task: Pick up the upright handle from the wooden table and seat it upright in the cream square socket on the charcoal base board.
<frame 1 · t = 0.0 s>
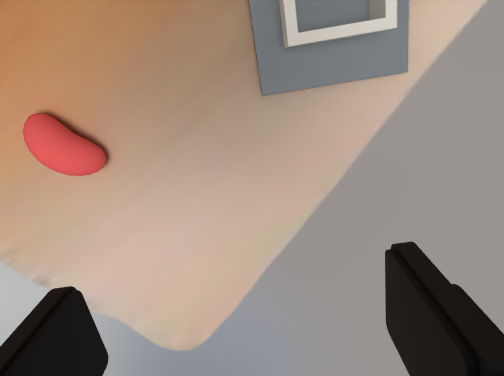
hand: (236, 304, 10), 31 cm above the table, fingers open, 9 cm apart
red bean shape: (73, 142, 40), on the table
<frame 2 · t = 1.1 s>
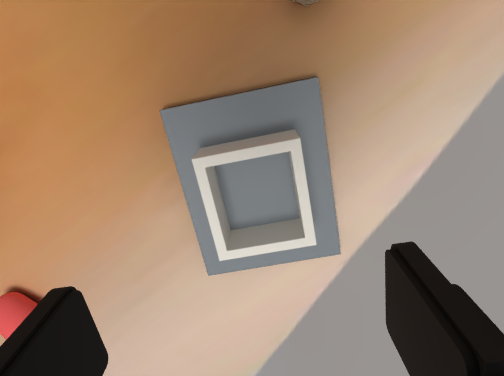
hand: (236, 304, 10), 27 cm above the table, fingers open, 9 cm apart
socket: (257, 183, 37), on the table
red bean shape: (42, 307, 44), on the table
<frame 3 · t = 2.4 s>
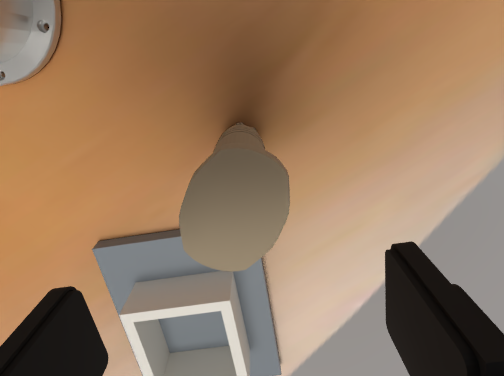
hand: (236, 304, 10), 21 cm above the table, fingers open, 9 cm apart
handle: (241, 139, 29), on the table
socket: (197, 307, 36), on the table
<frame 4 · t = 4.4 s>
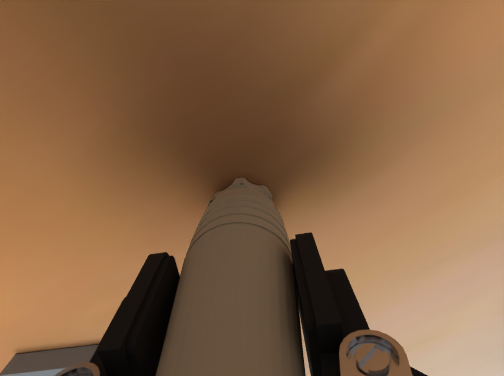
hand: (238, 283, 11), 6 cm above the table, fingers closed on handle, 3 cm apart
handle: (243, 203, 17), on the table, touching gripper
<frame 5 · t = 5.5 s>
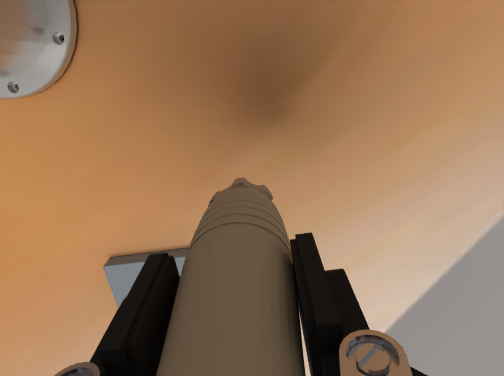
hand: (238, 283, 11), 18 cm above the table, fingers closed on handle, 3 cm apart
handle: (243, 203, 17), point 11 cm above the table, touching gripper
socket: (210, 329, 34), on the table
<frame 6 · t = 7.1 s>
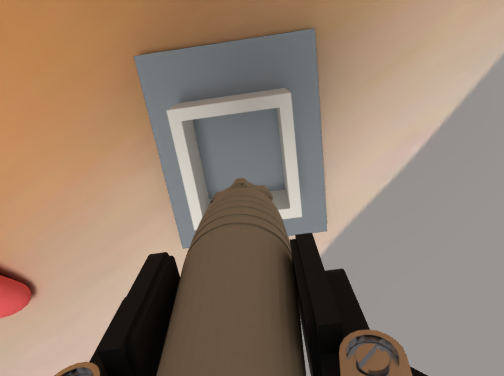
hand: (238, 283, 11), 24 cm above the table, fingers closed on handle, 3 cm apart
handle: (243, 203, 17), point 17 cm above the table, touching gripper
socket: (240, 148, 33), on the table
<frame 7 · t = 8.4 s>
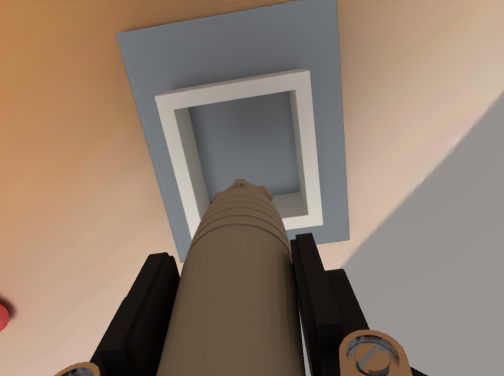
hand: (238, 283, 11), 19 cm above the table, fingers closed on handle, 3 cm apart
handle: (243, 204, 17), point 12 cm above the table, touching gripper
socket: (246, 144, 28), on the table
when the fingers open (9 cm above the table, at t = 10.3 s): handle drops 1 cm, resting on socket.
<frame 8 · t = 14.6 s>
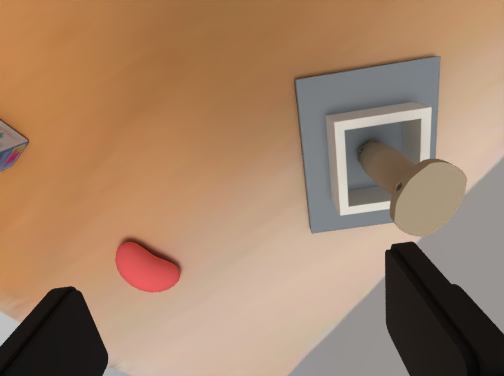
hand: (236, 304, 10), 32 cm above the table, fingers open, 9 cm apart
handle: (368, 152, 40), point 1 cm above the table, touching socket
socket: (365, 150, 41), on the table
red bean shape: (150, 258, 48), on the table
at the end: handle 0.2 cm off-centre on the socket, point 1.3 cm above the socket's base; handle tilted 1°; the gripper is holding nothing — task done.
